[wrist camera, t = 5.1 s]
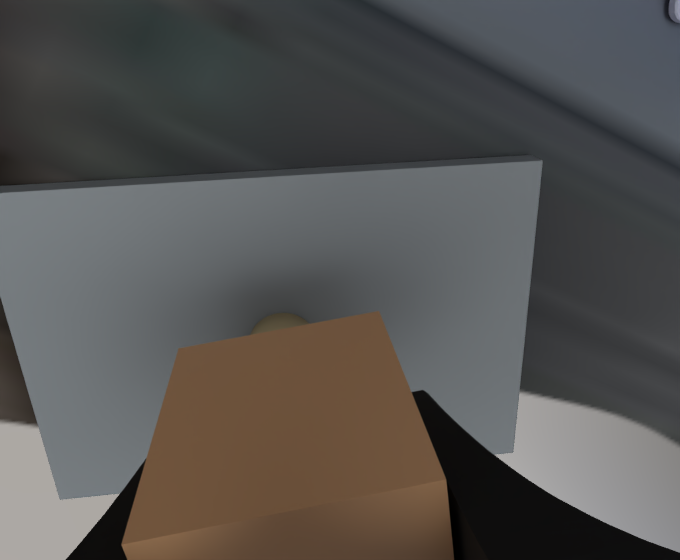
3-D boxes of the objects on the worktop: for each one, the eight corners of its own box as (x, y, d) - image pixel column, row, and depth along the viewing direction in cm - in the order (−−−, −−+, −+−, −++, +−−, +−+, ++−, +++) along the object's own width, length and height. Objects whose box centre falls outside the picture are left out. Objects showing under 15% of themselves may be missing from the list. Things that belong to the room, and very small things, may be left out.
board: (530, 154, 20) (588, 181, 16) (504, 437, 25) (544, 506, 21) (-15, 186, 19) (-85, 224, 15) (68, 481, 23) (30, 564, 20)
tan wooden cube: (379, 311, 13) (446, 479, 8) (400, 467, 15) (466, 684, 10) (178, 348, 13) (121, 544, 8) (225, 502, 15) (202, 741, 10)
